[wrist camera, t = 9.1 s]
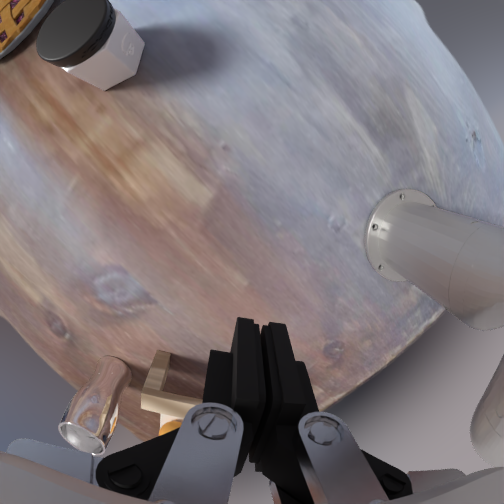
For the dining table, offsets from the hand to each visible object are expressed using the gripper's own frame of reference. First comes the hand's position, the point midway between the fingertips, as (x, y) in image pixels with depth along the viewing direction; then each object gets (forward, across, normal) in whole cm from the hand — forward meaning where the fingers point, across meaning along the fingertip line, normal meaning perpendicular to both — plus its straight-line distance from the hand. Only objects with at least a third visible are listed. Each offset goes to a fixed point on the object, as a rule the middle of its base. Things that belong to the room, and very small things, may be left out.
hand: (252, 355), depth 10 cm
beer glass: (+25, +16, +26) cm, 39 cm away
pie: (+24, +46, -31) cm, 61 cm away
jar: (+25, +20, -18) cm, 37 cm away
